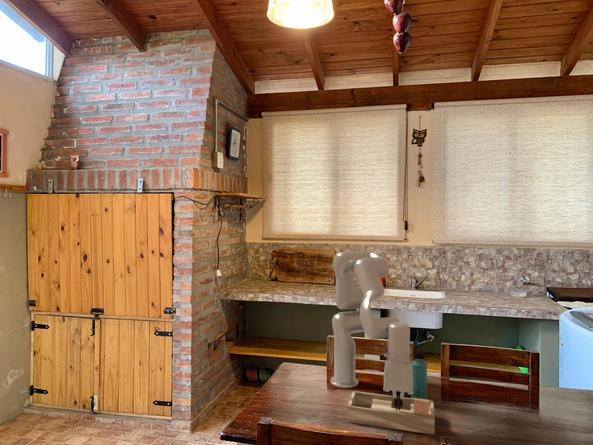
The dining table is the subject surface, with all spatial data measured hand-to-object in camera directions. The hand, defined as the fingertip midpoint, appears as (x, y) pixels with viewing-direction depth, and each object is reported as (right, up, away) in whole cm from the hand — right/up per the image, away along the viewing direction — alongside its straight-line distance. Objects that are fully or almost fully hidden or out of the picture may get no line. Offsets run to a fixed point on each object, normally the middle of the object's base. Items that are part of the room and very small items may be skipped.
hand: (398, 408), depth 146 cm
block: (+7, -2, -3) cm, 8 cm away
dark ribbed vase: (+9, -6, +37) cm, 38 cm away
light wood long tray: (-2, -6, +4) cm, 7 cm away
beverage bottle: (+13, -6, +18) cm, 23 cm away
